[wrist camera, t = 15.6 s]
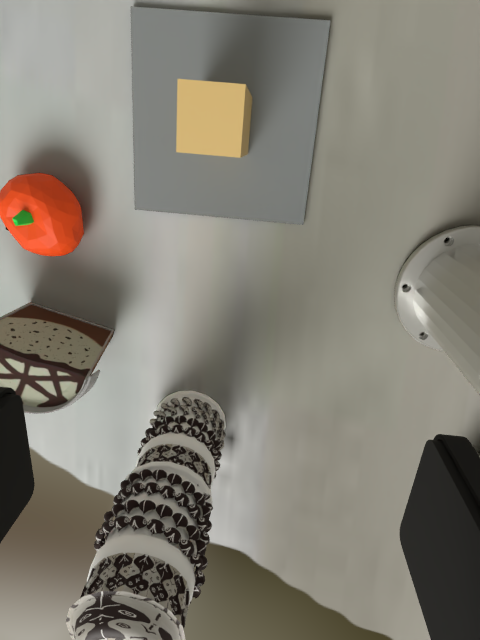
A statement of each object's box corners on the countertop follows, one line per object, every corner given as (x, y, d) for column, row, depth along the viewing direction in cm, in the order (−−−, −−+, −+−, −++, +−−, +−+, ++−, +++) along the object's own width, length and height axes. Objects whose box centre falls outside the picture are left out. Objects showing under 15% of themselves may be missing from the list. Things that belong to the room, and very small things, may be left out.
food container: (10, 345, 48) (-52, 394, 39) (17, 297, 46) (-48, 336, 36) (116, 380, 49) (79, 435, 40) (127, 334, 46) (91, 382, 37)
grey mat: (329, 22, 34) (330, 20, 34) (302, 223, 40) (303, 224, 40) (132, 8, 35) (130, 6, 34) (136, 208, 41) (134, 209, 40)
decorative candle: (238, 445, 51) (208, 694, 28) (166, 457, 53) (82, 703, 30) (217, 380, 48) (163, 602, 25) (141, 395, 49) (23, 618, 26)
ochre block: (252, 97, 36) (245, 84, 28) (247, 154, 38) (240, 157, 30) (199, 93, 36) (177, 78, 28) (197, 149, 38) (176, 152, 30)
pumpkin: (66, 261, 44) (28, 285, 39) (8, 198, 42) (-41, 213, 37) (111, 221, 41) (77, 240, 36) (51, 151, 39) (5, 160, 34)
